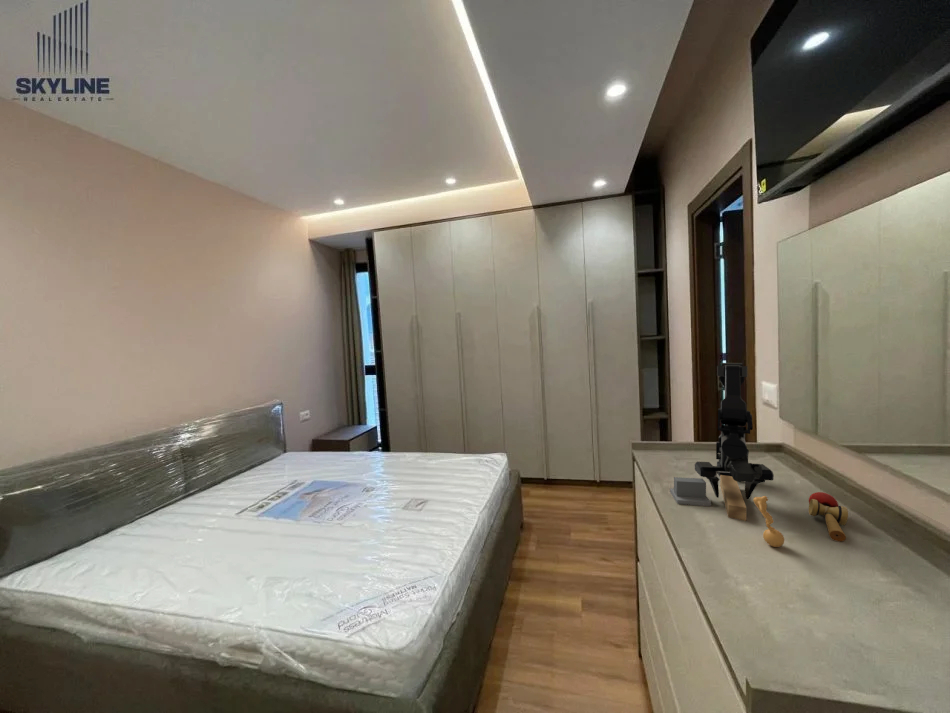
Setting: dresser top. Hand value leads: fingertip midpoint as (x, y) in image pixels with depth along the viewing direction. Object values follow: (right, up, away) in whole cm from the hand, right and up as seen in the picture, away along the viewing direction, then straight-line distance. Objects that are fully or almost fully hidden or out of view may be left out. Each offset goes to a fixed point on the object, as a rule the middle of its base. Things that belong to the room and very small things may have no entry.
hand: (732, 498), depth 109 cm
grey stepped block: (-11, -1, +3) cm, 12 cm away
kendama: (+16, -2, -14) cm, 21 cm away
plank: (0, -1, 0) cm, 1 cm away
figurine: (-6, -3, -21) cm, 22 cm away
